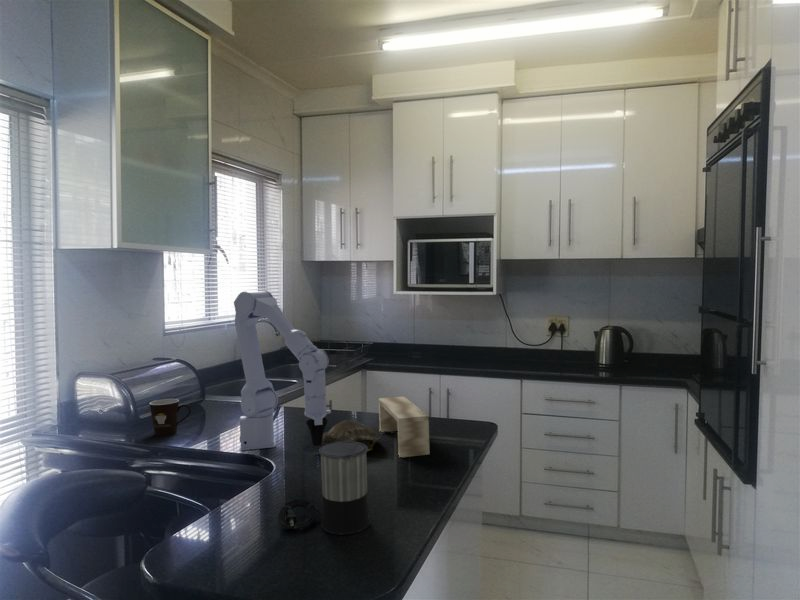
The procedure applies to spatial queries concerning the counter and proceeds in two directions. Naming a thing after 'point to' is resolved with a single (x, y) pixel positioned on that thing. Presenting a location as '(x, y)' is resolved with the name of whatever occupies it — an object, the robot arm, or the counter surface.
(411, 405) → the birch shelf
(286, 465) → the counter surface
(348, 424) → the turtle shell
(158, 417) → the coffee mug
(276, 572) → the counter surface
